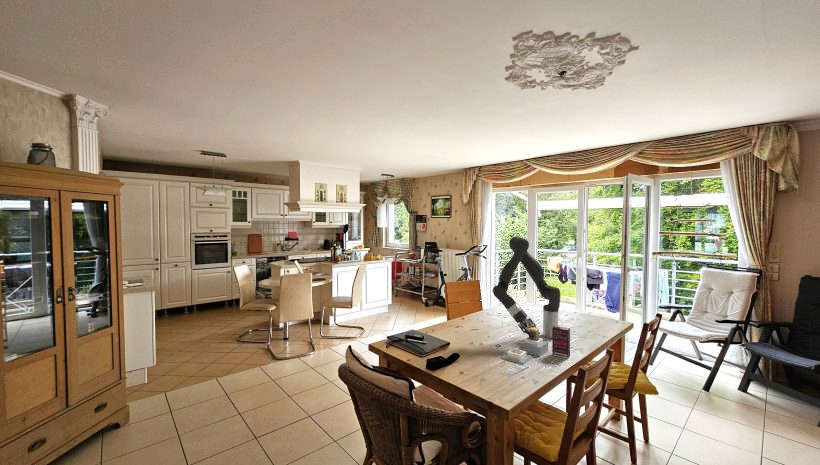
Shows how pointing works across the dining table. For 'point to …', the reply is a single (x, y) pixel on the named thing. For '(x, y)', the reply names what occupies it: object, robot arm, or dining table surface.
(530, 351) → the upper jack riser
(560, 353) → the supplement box
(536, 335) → the plug
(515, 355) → the plate
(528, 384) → the dining table surface
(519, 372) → the dining table surface
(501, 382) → the dining table surface
